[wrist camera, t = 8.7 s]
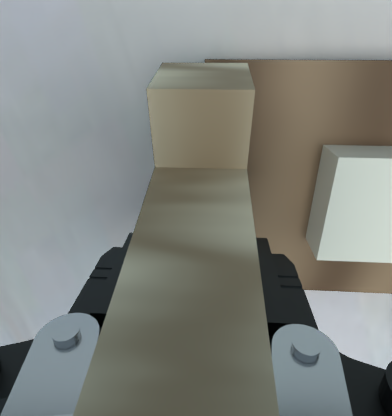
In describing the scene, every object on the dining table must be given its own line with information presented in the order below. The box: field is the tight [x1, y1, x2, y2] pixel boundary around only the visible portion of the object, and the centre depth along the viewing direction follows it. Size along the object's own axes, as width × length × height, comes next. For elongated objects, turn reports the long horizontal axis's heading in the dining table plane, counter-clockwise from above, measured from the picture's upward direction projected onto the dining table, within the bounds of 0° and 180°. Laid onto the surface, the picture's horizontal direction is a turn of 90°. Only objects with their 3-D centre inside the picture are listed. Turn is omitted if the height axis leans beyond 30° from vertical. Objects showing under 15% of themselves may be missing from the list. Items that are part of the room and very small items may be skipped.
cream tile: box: [306, 145, 392, 263], centre depth 14 cm, size 5×5×2 cm
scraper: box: [73, 63, 279, 416], centre depth 9 cm, size 3×8×11 cm, turn 0°
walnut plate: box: [205, 59, 392, 294], centre depth 16 cm, size 14×12×2 cm
